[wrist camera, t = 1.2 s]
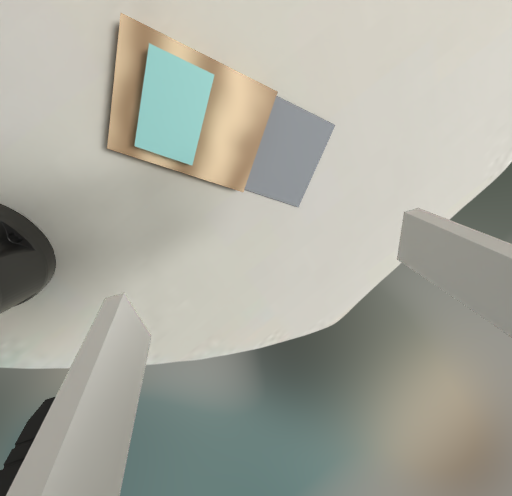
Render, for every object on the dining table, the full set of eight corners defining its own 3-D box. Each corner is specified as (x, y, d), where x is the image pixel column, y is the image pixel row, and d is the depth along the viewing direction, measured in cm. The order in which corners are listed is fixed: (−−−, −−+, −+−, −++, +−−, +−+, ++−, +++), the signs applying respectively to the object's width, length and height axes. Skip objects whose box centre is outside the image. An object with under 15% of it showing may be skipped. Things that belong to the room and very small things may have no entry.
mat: (243, 188, 33) (244, 189, 33) (275, 95, 29) (276, 95, 28) (297, 206, 36) (298, 207, 36) (334, 124, 32) (335, 125, 31)
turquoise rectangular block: (138, 144, 26) (134, 146, 24) (153, 49, 23) (149, 43, 21) (192, 162, 28) (192, 165, 26) (213, 78, 25) (214, 74, 23)
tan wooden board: (114, 146, 28) (107, 148, 26) (128, 22, 23) (120, 12, 21) (240, 187, 33) (243, 192, 31) (271, 94, 28) (277, 91, 26)
